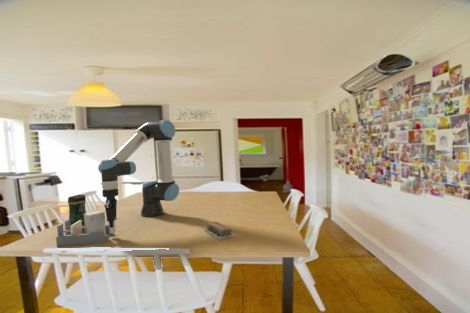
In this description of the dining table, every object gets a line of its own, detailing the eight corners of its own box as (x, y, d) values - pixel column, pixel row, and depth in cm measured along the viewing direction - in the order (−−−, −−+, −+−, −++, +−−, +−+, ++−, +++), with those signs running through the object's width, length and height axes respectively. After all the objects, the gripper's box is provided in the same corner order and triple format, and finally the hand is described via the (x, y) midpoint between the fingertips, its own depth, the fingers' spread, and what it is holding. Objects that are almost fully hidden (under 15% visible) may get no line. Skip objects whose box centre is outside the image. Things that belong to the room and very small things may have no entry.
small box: (101, 233, 141) (99, 210, 140) (106, 236, 137) (104, 211, 136) (85, 238, 135) (83, 213, 134) (89, 240, 131) (88, 215, 130)
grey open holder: (82, 234, 140) (81, 219, 139) (73, 241, 129) (72, 225, 129) (64, 235, 138) (63, 221, 138) (53, 243, 128) (52, 227, 128)
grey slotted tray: (112, 233, 144) (111, 215, 143) (103, 242, 130) (102, 223, 129) (70, 236, 140) (69, 218, 140) (56, 246, 127) (55, 226, 126)
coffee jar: (77, 227, 157) (75, 196, 156) (66, 226, 159) (64, 196, 158) (89, 222, 166) (88, 193, 165) (79, 221, 168) (77, 193, 167)
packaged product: (203, 223, 143) (218, 219, 148) (203, 231, 143) (219, 228, 148) (218, 231, 127) (235, 227, 133) (219, 241, 128) (235, 237, 133)
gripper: (106, 187, 142) (109, 229, 143) (98, 191, 129) (100, 237, 130) (121, 186, 143) (123, 228, 144) (113, 190, 130) (116, 236, 131)
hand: (112, 232), depth 137 cm, fingers closed
